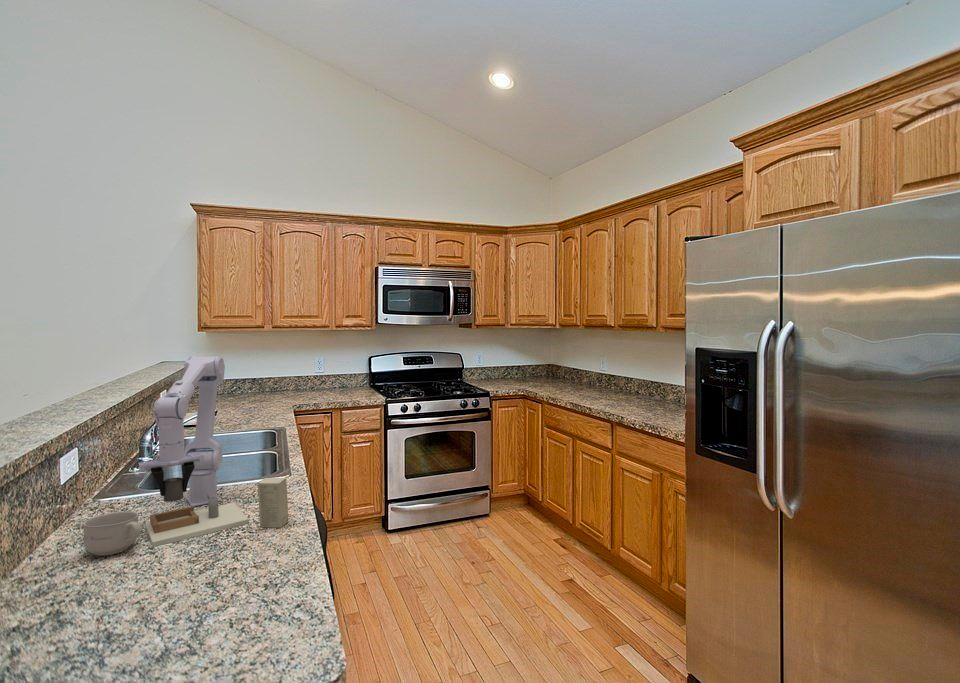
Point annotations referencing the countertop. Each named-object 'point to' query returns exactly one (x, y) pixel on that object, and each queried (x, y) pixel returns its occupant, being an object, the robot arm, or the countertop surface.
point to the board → (193, 522)
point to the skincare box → (273, 502)
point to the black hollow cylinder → (173, 489)
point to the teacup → (111, 532)
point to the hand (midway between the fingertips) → (173, 493)
